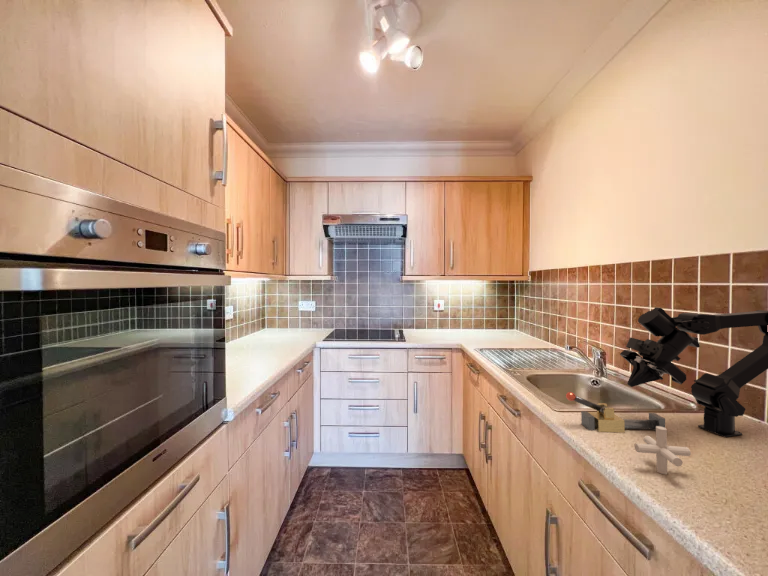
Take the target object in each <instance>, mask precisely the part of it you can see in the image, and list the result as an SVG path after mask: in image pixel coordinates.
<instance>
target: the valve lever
mask: <svg viewBox="0 0 768 576" xmlns="http://www.w3.org/2000/svg"><path fill="white" fill-rule="evenodd" d="M565 397H566V400H567V401H569V402H576V403H578V404H581V405H583V406H586V407H588V408H591V409H592V410H595V411H596V412H597V411H600V412H601V413H602V414H603V415H604V408H608V406H607V407H606V406H601V407H600V406H599V405H597V403H594V402H592V401H589V400H587V399H585V398H582V397H580V396H578V395H576V394H575V393H574V392H571V391H569V392H568V391H567V393H566V395H565Z"/></svg>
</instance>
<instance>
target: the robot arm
mask: <svg viewBox="0 0 768 576" xmlns="http://www.w3.org/2000/svg"><path fill="white" fill-rule="evenodd" d="M637 322H638V324H640V325H641V326H642V327H643V328H644V329H645V330H647V331H648V332H649V333H650V334H651V335H652V336H654V337H659V339H658V340H657V341H655V340H654V339H653V340H652V339H649V338H647V339H646V340H642V339H639V338H635V337H629V338H628V339H629V340H628V341H627V344H626V345H625V348H627V349H623V350H622V351H621V352H620V353H619V355H620V356H621V357H622V358H623V359H624V360H626V361H627V362H628V363H629V364H630V365H631V366H632V367H633V368H632V371H631V374H630V376H629V379H628V381H627V383H626V385H627V386H629V387H631V388H633V387H636V386H640V385H645V384H647V383H651V382H655V381H660V380H661V381H663V380H664V378H663V377H664V375H669V376H670V377H671V381H672V382H673V383H675V384H676V383H677V384H678V385H682V384H684V383H685V381H687V374H686V373H685V372H684V371H683V370H682V369H680V368H679V367H678V366H677V365H676V364H675V363H673V361H676V362H679V361H680V360H681V357H679V356H680V354H682V353H683V352H684V351H685V350H686V349H687V347H693V348H700V347H701V345H700V342H699V338H698V337H696V336H692V335H690V334H696V335H703V336H704V335H708V334H713V333H716V332H719V331H720V330H723V329H733V328H744V327H745V328H746V327H747V328H748V327H758V330H759V331H760V333H762V334H763V337H762V343H761V344H760V346H758V347H756V348H755V349H754V350H752V351H751V352H749V354H747V355H745V356H743V358H741V359H740V360H738V361H737V362H736V363H734V364H732V365H731V366H730V367H728V368H727V369H725V370H724V371H723V372H722V373H720V374H717V375H715V374H710V373H707V372H705V373H704V374H702V375H701V376H700V377H699V378H698V379H694V380H693V382H694V383H693V384H692V385H691V386H690V388H691V390H690V391H691V392H690V393H691V396H692V397H693V398H694V399H695V401H696V404H697V405H700V406H703V407H704V408H703V424H699V425H697V427H698V428H700V429H702V430H704V431H707V432H710V433H713V434H715V435H718V436H721V437H722V438H723V437H724V438H729V437H734V436H736V437H737V436H742V435H743V433H742V432H740V431H738V430H736V417H739V416H740V417H743V416H744V415H745V411H746V407H744V406H743V405H742V404H741V403H740V402H739V401H737V400H738V399H739V397H740V391H741V388H743V387H744V386H745V385H747V384H749V383H750V382H752V381H753V380H754V379H756V378H758V376H760V375H762V374H763V373H764V372H766V371H767V370H768V332H767V325H768V310H763V309H758V310H755V311H741V312H731V313H730V312H728V313H718V314H706V313H697V312H696V313H694V312H681V313H679V314H678V315H677V316H674V317H672V316H670V315H669V314H668V313H667V312H666V311H665V310H664V308H662V307H654V308H653V309H651V310H647V311H646V312H645V313H642V314H641V315H640V316H639V317H638V319H637ZM689 333H690V334H689ZM629 349H632V350H629ZM633 350H634V351H633ZM636 351H637V352H636Z"/></svg>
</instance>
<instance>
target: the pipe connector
mask: <svg viewBox="0 0 768 576" xmlns="http://www.w3.org/2000/svg"><path fill="white" fill-rule="evenodd" d="M667 432H668V429H667V428H666V427H665V428H664V427H661V426H656V430H655V439H654V438H653V437H651V436H650V435H645V436H643V438H642V439H643V442H644V443H637V442H636V443H634V445H633V446H634V450H635V451H636V453H643V454H646V453H647V454H656V459H655V460H656V472H657V473H658V474H662V475H668V461H669V463H671V464H672V465H674V466H675V467H678V468H679V467H682V465H683V462H684V461H683V460H682V459H681V458H680V457H679V456H681V457H683V456H684V457H690V456H691V455H692V453H691V452H692V451H691V450H690V448H689V447H687V446H677V445H675V446H674V445H668V436H667V435H668V434H667Z"/></svg>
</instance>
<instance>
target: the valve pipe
mask: <svg viewBox="0 0 768 576" xmlns="http://www.w3.org/2000/svg"><path fill="white" fill-rule="evenodd" d="M596 404H597V405H599V406H600V407H601V406H606V407H607V408H604V415H603V414H602V413H601V412H600V411H597V410H596V411H585V410H584V411H583V410H581V411H580V414H581V418H580V419H581V420H580V421H581V422H580V423H581V425H582V426H583V427H584V428H585V429H586V430H588V431H595V430H596V432H598V433H623V434H624V433H625V432H626V431H625V430H652V431H653V430H654V431H656V426H661V427H664V428H666V418H665V417H663V416H661V415H659V414H657V413H655V412H648V419H632V418H631V419H625V418H622V417H620V416H619V415H617V414H616V413H615V408H614V407H608V403H606V402H605V403H602V402H599V403H598V402H597V403H596Z"/></svg>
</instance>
